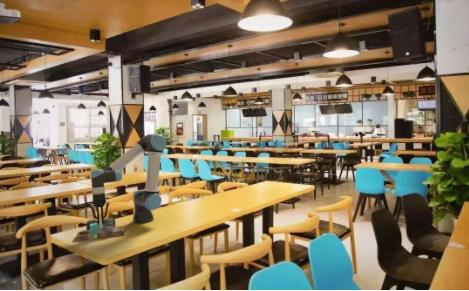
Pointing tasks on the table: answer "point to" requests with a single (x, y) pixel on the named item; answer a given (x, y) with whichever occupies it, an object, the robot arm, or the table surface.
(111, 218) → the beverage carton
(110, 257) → the table surface
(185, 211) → the table surface
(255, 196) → the table surface
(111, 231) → the brown piece
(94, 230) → the teal block
